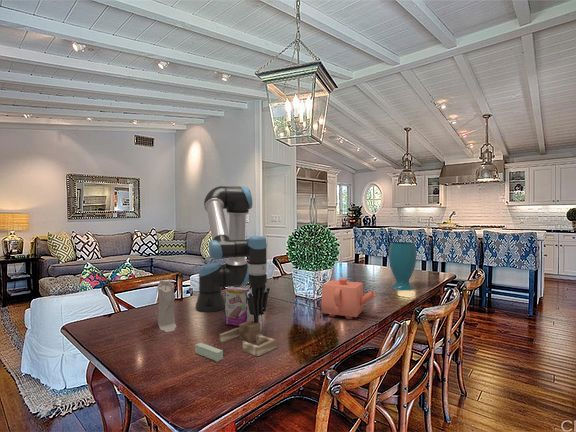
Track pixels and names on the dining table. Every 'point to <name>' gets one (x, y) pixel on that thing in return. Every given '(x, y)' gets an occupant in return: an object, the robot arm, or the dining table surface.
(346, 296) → the teapot
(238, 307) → the candy bar box
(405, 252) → the vase
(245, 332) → the block
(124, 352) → the dining table surface
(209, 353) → the bar
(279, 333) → the dining table surface
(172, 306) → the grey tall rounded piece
